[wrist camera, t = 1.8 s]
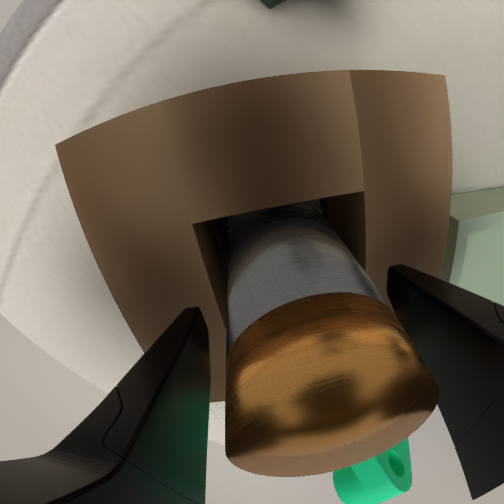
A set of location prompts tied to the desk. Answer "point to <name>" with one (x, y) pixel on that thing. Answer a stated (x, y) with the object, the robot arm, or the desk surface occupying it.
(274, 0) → the watch
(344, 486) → the camera mount
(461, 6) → the desk surface
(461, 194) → the tray
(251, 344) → the steel pin
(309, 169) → the hole block
